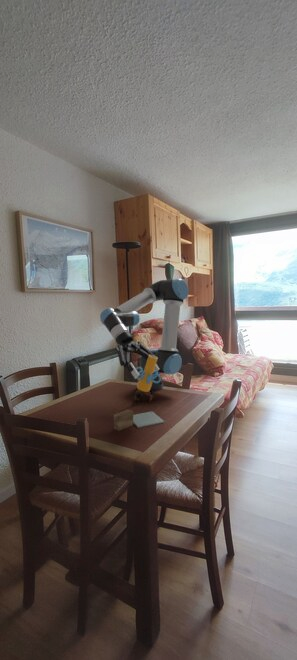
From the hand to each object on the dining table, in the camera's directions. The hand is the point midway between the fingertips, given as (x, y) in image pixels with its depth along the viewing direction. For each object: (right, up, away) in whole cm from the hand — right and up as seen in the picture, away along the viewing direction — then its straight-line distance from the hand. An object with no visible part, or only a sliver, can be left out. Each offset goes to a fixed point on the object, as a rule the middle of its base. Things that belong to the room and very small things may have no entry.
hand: (147, 373), depth 127 cm
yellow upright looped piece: (-2, -7, +2) cm, 7 cm away
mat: (-1, -21, +4) cm, 21 cm away
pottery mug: (-3, -19, +30) cm, 36 cm away
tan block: (-10, -22, -3) cm, 24 cm away
